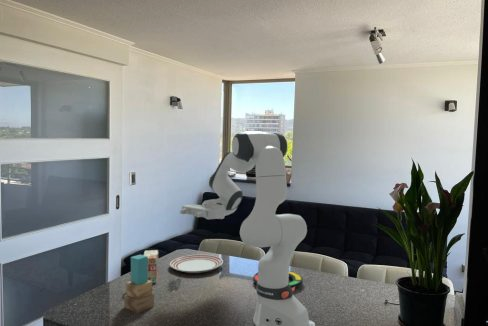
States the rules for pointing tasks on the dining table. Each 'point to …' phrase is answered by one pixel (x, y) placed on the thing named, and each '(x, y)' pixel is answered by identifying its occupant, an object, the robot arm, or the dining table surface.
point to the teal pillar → (139, 269)
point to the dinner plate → (196, 263)
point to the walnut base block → (138, 303)
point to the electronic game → (293, 276)
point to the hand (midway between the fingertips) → (188, 213)
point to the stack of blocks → (152, 264)
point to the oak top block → (139, 289)
